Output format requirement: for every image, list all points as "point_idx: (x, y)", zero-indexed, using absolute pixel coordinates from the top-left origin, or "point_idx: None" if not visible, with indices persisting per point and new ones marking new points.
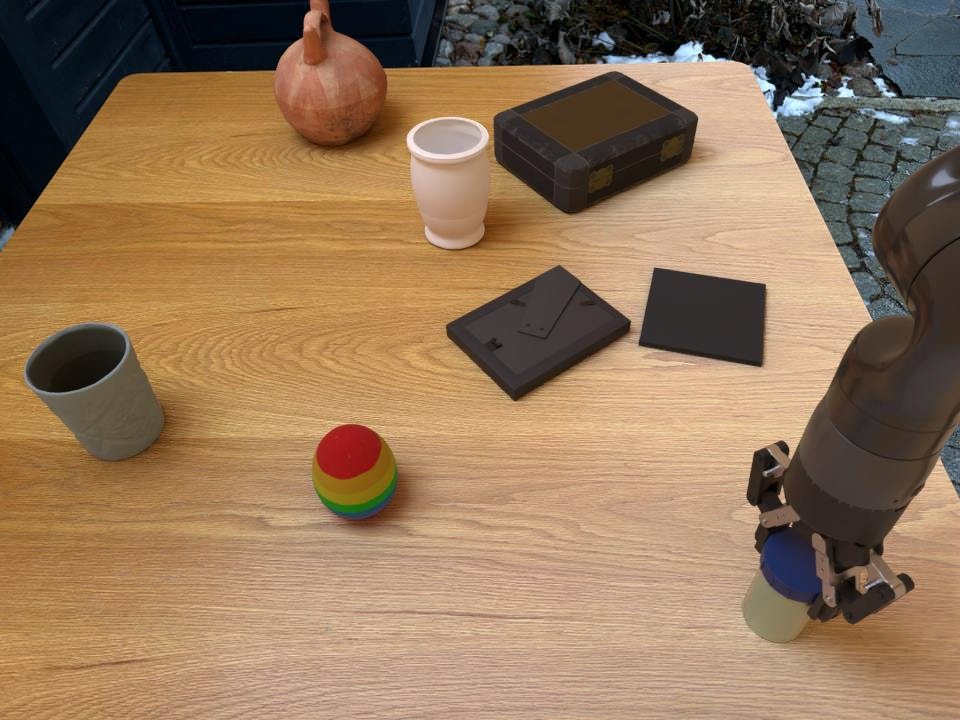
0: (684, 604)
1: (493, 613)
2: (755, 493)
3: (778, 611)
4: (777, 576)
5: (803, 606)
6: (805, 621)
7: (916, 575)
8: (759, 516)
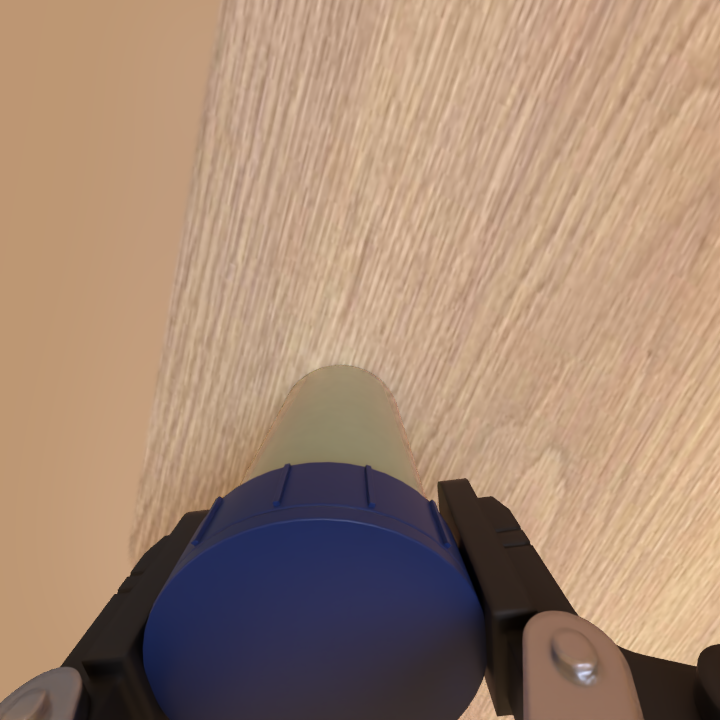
0: (416, 260)
1: None
2: None
3: (272, 435)
4: (266, 532)
5: None
6: None
7: None
8: (609, 644)
